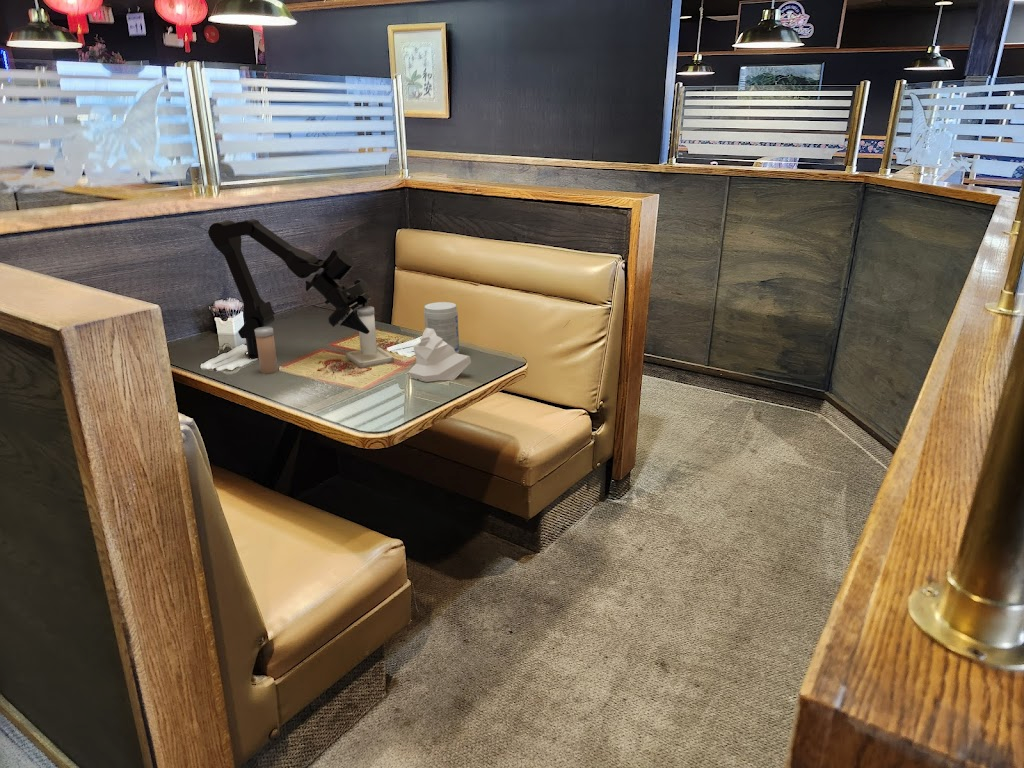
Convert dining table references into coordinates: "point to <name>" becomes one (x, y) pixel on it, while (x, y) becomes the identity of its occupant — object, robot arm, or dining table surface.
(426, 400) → the dining table surface
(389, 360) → the tray
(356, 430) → the dining table surface
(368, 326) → the salt shaker
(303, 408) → the dining table surface
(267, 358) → the pepper shaker
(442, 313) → the supplement tub
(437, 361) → the white faceted sculpture
